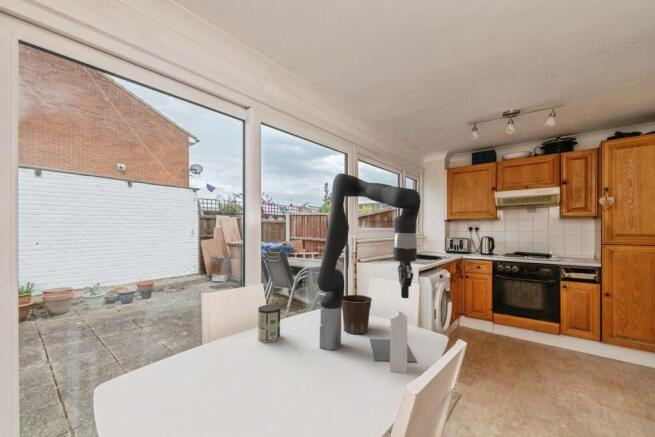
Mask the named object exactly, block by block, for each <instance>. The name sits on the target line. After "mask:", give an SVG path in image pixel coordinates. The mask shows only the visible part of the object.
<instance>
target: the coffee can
mask: <svg viewBox="0 0 655 437" xmlns="http://www.w3.org/2000/svg"><path fill="white" fill-rule="evenodd" d="M257 312H258V314H257V315H258V319H257V321H258V322H257V323H258V324H257V326H258V327H257V328H258V329H257V340H258V341H259V342H263V343H272V342H276V341H279V340H280V339H281V306H280V305H277V304H265V305H261V306H258V308H257Z"/></svg>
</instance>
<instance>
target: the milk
mask: <svg viewBox="0 0 655 437" xmlns="http://www.w3.org/2000/svg"><path fill="white" fill-rule="evenodd" d="M389 320H390V326H389V328H390V330H389V331H390V333H389V334H390V338H389V339H390V362H389V371H390V372H393V373H394V372H395V373H401V374H407V373H408V362H407V345H408V316H407V314H405V313H403V312H402V311H401V310H397V311H395V312H393V313H391V314H390V319H389Z"/></svg>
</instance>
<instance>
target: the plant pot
mask: <svg viewBox="0 0 655 437" xmlns="http://www.w3.org/2000/svg"><path fill="white" fill-rule="evenodd" d="M372 301H373V298H372V297H370V296H366V295H363V294H362V295H361V294H347V295H344V297H343V301H342V306H341V311H342V319H343V320H342V321H343V331H344V332H346V333H348V334H352V335H361V334H366V333H368V331H369V322H370V321H369V320H370V311H371V307H372Z"/></svg>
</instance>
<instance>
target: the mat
mask: <svg viewBox="0 0 655 437" xmlns="http://www.w3.org/2000/svg"><path fill="white" fill-rule="evenodd" d="M369 342H370V347H371V349H372V355H373V357H374V361H375V362H388V363H390V338H389V339H387V338H386V339H385V338H383V339H382V338H370V339H369ZM417 361H418V360H416V358H415V356H414V354H413V352H412V350H411V349H410V347H409V345H408V344H407V364H408V363H413V364H416V363H417ZM417 364H418V363H417Z"/></svg>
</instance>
